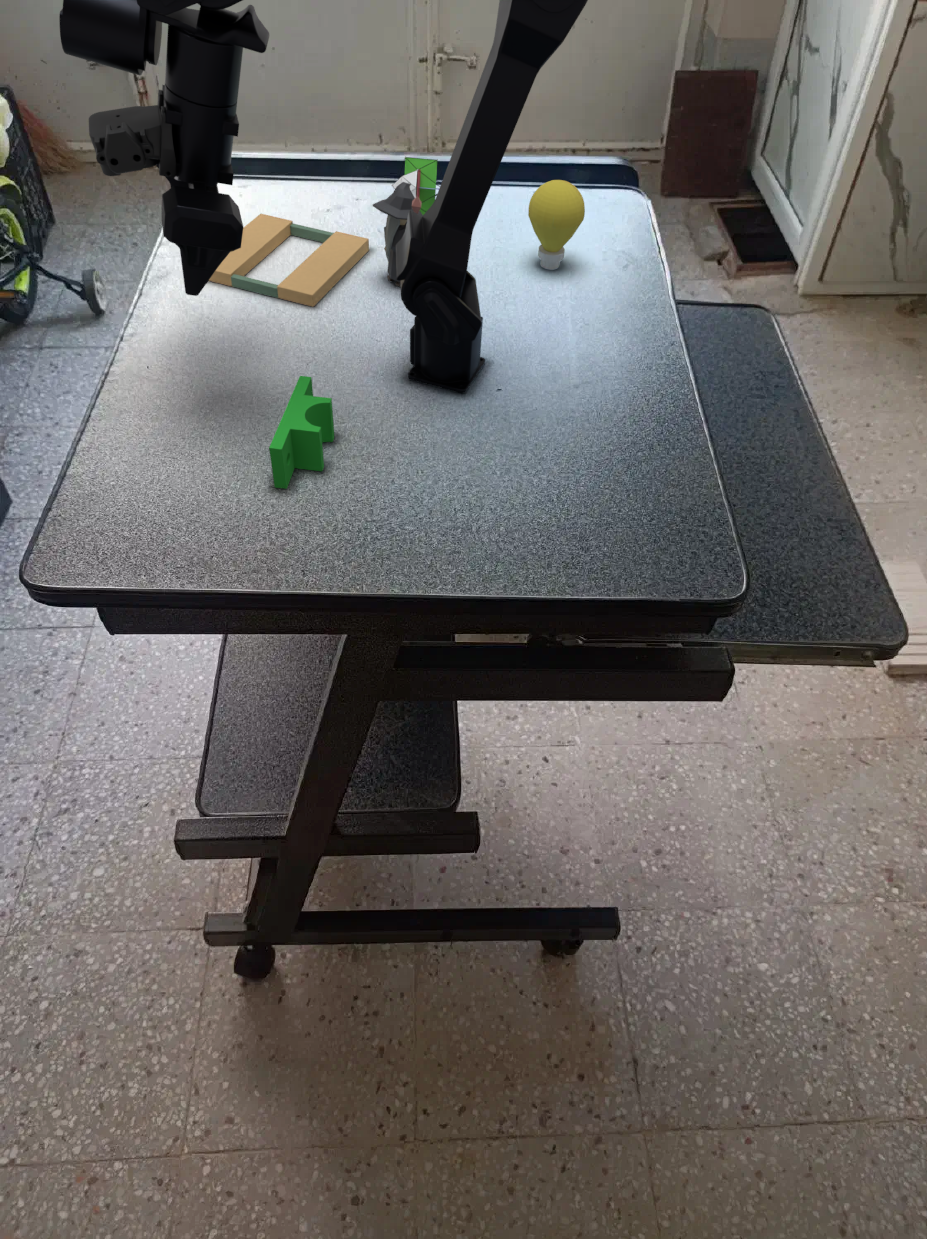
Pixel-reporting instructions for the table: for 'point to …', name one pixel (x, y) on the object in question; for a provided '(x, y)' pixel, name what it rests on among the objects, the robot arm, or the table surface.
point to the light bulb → (555, 219)
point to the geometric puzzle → (420, 180)
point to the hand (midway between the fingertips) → (187, 267)
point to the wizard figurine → (397, 222)
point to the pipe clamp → (301, 433)
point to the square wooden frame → (308, 276)
